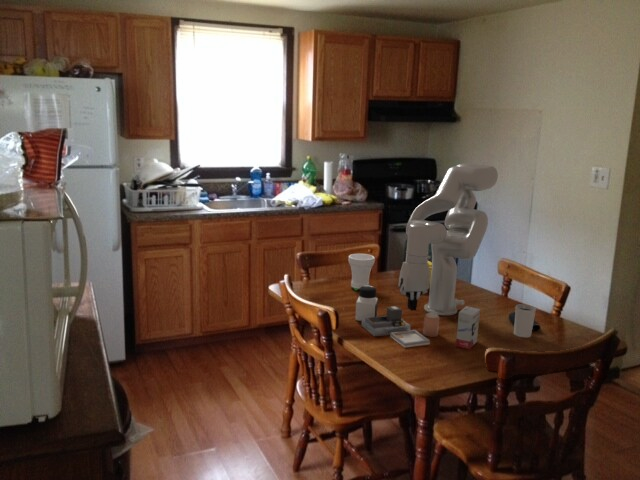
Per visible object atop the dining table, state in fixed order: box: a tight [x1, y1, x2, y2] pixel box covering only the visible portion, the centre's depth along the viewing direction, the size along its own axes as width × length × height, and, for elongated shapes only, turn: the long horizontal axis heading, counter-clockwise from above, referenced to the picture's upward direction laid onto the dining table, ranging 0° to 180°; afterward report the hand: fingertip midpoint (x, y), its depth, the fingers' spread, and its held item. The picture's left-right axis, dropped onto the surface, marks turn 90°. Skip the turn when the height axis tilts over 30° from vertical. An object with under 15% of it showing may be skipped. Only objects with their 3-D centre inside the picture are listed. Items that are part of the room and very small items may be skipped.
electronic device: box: [508, 311, 541, 332], centre depth 213 cm, size 9×6×15 cm
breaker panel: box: [361, 315, 412, 337], centre depth 203 cm, size 14×10×4 cm
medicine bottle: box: [355, 285, 379, 322], centre depth 212 cm, size 7×7×12 cm
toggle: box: [386, 305, 403, 321], centre depth 203 cm, size 4×4×5 cm
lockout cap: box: [422, 312, 440, 338], centre depth 200 cm, size 5×5×7 cm
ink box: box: [455, 305, 481, 350], centre depth 192 cm, size 9×5×12 cm, turn 148°
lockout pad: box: [389, 329, 431, 348], centre depth 194 cm, size 10×10×1 cm
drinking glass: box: [513, 303, 537, 338], centre depth 202 cm, size 7×7×10 cm
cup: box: [348, 253, 376, 292], centre depth 246 cm, size 11×11×14 cm
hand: (411, 309), depth 205 cm, fingers closed
